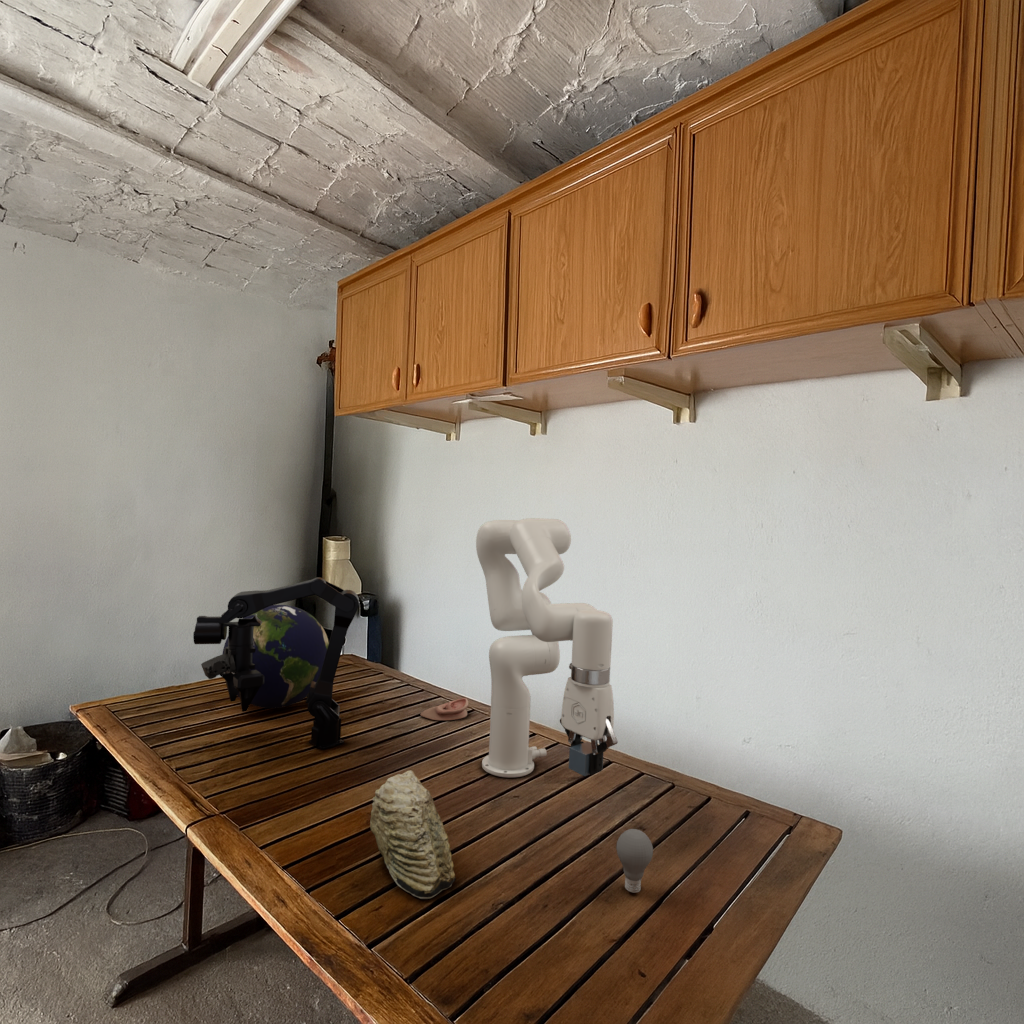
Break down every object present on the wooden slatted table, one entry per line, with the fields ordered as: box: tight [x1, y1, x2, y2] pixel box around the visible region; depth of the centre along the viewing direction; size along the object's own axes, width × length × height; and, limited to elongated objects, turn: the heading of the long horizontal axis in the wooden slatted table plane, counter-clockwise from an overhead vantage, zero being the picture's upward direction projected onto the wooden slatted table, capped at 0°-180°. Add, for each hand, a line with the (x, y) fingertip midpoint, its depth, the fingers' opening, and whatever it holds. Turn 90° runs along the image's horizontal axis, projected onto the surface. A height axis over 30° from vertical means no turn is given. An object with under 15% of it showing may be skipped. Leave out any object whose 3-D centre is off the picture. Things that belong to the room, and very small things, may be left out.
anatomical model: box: [419, 697, 469, 721], centre depth 187 cm, size 13×4×12 cm
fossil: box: [369, 769, 456, 900], centre depth 109 cm, size 9×18×15 cm, turn 46°
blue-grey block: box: [568, 741, 605, 777], centre depth 123 cm, size 4×5×4 cm
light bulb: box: [615, 828, 654, 894], centre depth 106 cm, size 6×6×10 cm
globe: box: [221, 604, 329, 709], centre depth 188 cm, size 30×30×30 cm
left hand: (238, 706), depth 157 cm, fingers open, 9 cm apart
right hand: (585, 766), depth 123 cm, fingers closed on blue-grey block, 4 cm apart
